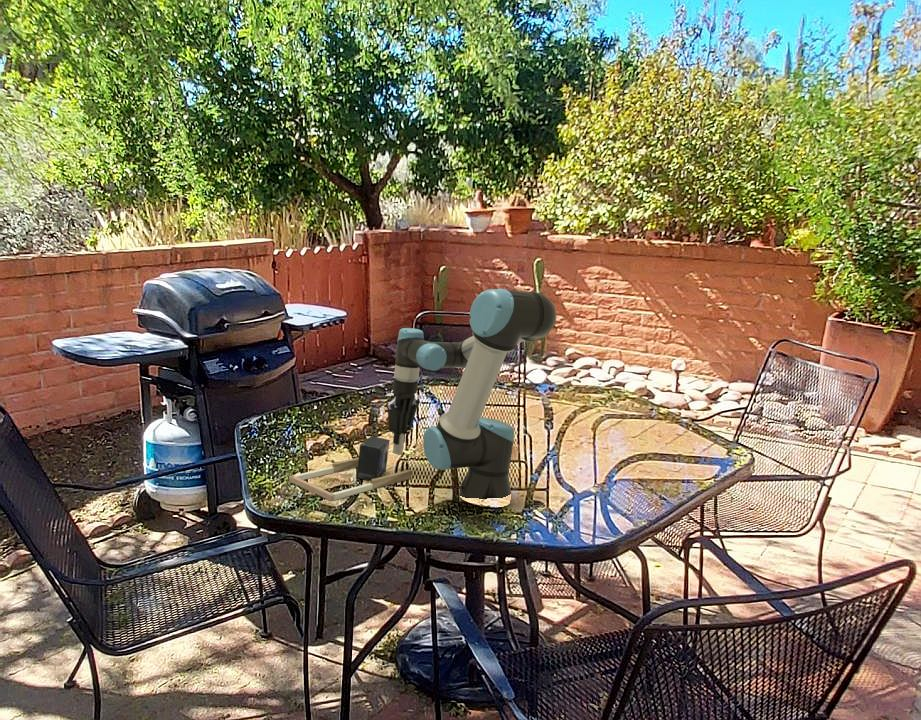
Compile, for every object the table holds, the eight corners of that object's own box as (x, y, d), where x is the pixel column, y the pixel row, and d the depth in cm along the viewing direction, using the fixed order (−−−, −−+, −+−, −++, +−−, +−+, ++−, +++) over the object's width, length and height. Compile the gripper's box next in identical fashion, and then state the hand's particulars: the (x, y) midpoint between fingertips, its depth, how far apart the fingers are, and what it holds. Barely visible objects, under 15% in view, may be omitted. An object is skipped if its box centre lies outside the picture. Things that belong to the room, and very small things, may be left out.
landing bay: (372, 489, 211) (373, 484, 210) (330, 500, 198) (331, 495, 198) (330, 471, 221) (331, 466, 221) (289, 481, 209) (289, 476, 208)
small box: (376, 482, 217) (380, 448, 215) (355, 478, 218) (358, 444, 216) (387, 472, 227) (390, 439, 225) (366, 468, 228) (370, 435, 226)
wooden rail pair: (411, 478, 223) (411, 470, 223) (373, 489, 211) (374, 480, 210) (370, 462, 234) (370, 454, 233) (331, 471, 221) (332, 463, 221)
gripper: (411, 374, 233) (403, 447, 237) (381, 378, 223) (373, 453, 227) (429, 380, 228) (420, 453, 232) (400, 383, 218) (391, 460, 222)
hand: (397, 453), depth 230 cm, fingers closed
